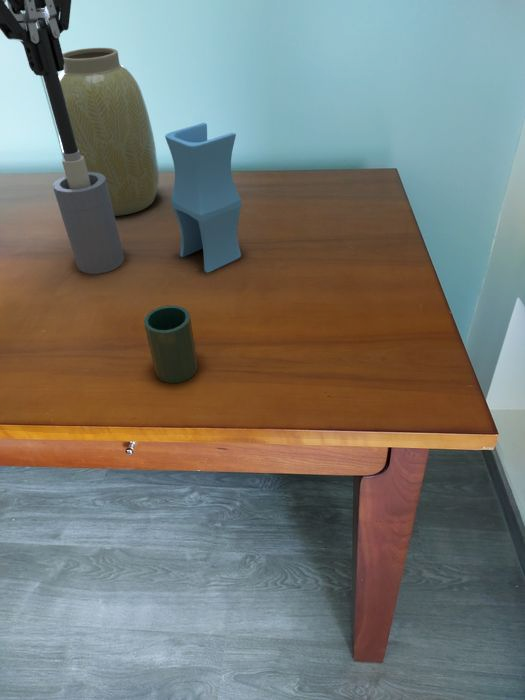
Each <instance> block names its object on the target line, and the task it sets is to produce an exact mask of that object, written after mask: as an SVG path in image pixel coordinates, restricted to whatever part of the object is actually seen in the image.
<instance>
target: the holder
mask: <svg viewBox="0 0 525 700" xmlns="http://www.w3.org/2000/svg"><path fill="white" fill-rule="evenodd" d="M143 324H144V325H143V326H144V329H145V334H146V337H147V343H148V347H149V351H150V355H151V359H152V365H153V369H154V373H155V376H156V378H158V379H159V380H160V381H161V382H164V383H168V384H177V383H178V384H179V383H182V382H183V383H184V382H185V381H188V380H190V379H191V378H193V377H194V375H196V373H197V371H198V367H199V366H198V358H197V350H196V343H195V337H194V332H193V326H192V319H191V315H190V312H189V311H188V310H187V309H186V308H185V307H183V306H180V305H174V304H173V305H170V304H169V305H162V306H159V307H156V308H154V309H152V310H151V311H149V312H147V314H146V315H145V317H144V319H143Z"/></svg>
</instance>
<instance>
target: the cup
mask: <svg viewBox="0 0 525 700" xmlns="http://www.w3.org/2000/svg"><path fill="white" fill-rule="evenodd" d="M88 175H89V179H90V183H91V186H89V187H86V188H81V189H70V188H69V185H68V181H67V177H66V175H64V176H62V177H59V178H57V179H56V180H55V181H54V182H53V184H52V188H53V193H54V195H55V199H56V202H57V205H58V209H59V211H60V214H61V218H62V222H63V225H64V228H65V231H66V235H67V238H68V242H69V244H70V247H71V248H70V249H71V250H72V255H73V257H74V261H75V264H76V267H77V269H78V270H79V271H80V272H82V273H83V274H88V275H99V274H100V275H101V274H105V273H110V272H111V271H114V270H116V269H117V268H119V267H120V266H121V265H122V264H123V263H124V261H125V256H124V251H123V246H122V241H121V238H120V237H121V236H120V233H119V229H118V225H117V221H116V216H114V212H113V207H112V203H111V199H110V195H109V190H108V186H107V182H106V178H105V176H104V175H102V174H100V173H96V172H88Z"/></svg>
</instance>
